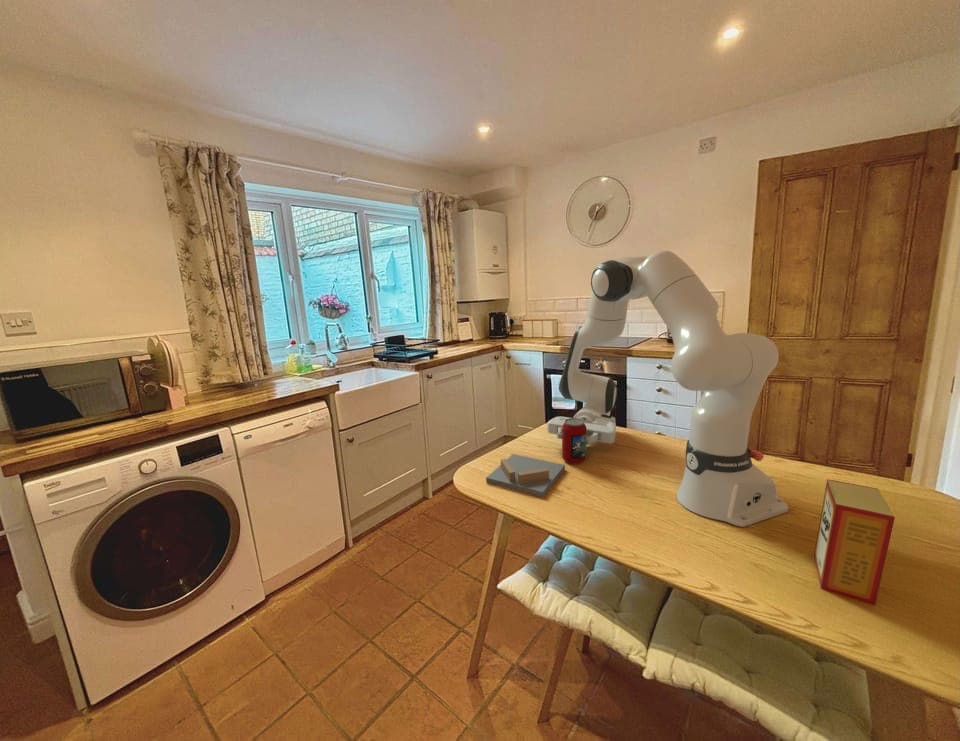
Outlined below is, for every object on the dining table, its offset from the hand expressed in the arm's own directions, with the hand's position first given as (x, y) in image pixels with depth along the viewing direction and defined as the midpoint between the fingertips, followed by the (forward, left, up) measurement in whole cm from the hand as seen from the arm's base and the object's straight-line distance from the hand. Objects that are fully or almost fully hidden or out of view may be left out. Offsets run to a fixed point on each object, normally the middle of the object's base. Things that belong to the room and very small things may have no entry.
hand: (573, 438), depth 112 cm
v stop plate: (+15, +5, -7) cm, 18 cm away
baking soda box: (-28, +52, -7) cm, 60 cm away
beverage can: (-1, -1, -7) cm, 7 cm away
